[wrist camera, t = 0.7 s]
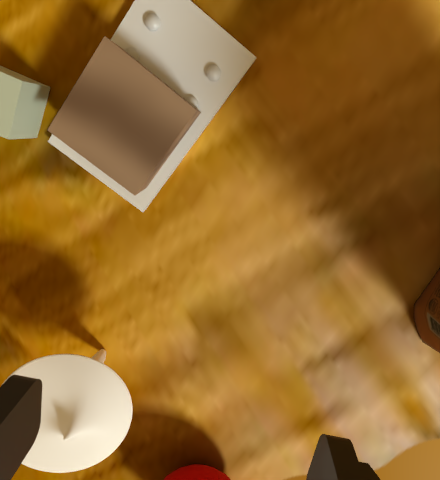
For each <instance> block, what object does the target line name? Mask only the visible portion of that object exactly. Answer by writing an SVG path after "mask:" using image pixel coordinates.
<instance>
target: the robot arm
mask: <svg viewBox="0 0 440 480" xmlns="http://www.w3.org/2000/svg"><path fill="white" fill-rule="evenodd" d="M41 404H42V381H41V380H40V379H36V378H30V377H25V376H20V375H12V376H10V377H9V378H8V379H7V380H6V381H5V383H4V384H3V385H2V386H1V387H0V480H11V478H12V477H13V475H14V474H15V472H16V471H17V469H18V468H19V466H20V464H21V463H22V461H23V460H24V458H25V457H26V455H27V454H28V452H29V451H30V449H31V447H32V446H33V444H34V442H35V440H36V437H37V435H38V432H39V428H40V423H41ZM306 480H380V478H379V477H378V476H377V474H376V473H375V472H374V470H373V469H372V468H371V467H370V465H369V464H368V463H362V462H358V459H357V456H356V453H355V450H354V447H353V444H352V442H351V441H350V440H349V439H346V438H341V437H336V436H330V435H325V434H322V435H321V436H320V438H319V441H318V444H317V447H316V450H315V453H314V456H313V459H312V462H311V465H310V468H309V471H308V474H307V479H306Z"/></svg>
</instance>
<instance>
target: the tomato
mask: <svg viewBox="0 0 440 480" xmlns="http://www.w3.org/2000/svg"><path fill="white" fill-rule="evenodd" d="M164 480H230V478H229V477H228V476H227V475H226V474H224V473H223V472H221V471H219V470H217V469H216V468H214V467H211V466H207V465H199V464H193V465H188V466H184V467H181V468H179V469H177V470H175V471H173V472H172V473H170V474H169V475H167V476H166V477H165V478H164Z"/></svg>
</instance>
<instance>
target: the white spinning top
mask: <svg viewBox="0 0 440 480" xmlns="http://www.w3.org/2000/svg"><path fill="white" fill-rule="evenodd" d="M105 357H106V351H105V350H104V349H101V350H100V351H98V352H97V353H96V354H95V355H94V356H93V357H91V358H89V357H85V356H81V355H74V354H56V355H49V356H44V357H41V358H38V359H35V360H32V361H30V362H28V363H26V364H25V365H23V366H21V367H20V368H18V369H17V370H16V371H14V372H13V373H12V374H11V375H10V376H12V375H20V376H25V377H30V378H36V379H40V380H41V381H42V404H41V423H40V428H39V432H38V435H37V437H36V440H35V442H34V444H33V446H32V447H31V449H30V451H29V452H28V454H27V455H26V457H25V458H24V460H23V461H22V464H23V465H26V466H28V467H30V468H33V469H36V470H40V471H45V472H55V473H63V472H73V471H78V470H82V469H85V468H88V467H91V466H93V465H95V464H97V463H99V462H101V461H102V460H104V459H105V458H106V457H108V456H109V455H110V454H111V453H113V452H114V451H115V450H116V449H117V447H118V446H119V445H120V444H121V443H122V441H123V440H124V438H125V436H126V434H127V432H128V430H129V427H130V424H131V420H132V412H133V409H132V400H131V396H130V393H129V391H128V388H127V387H126V385H125V383H124V382H123V380H122V379H121V378H120V377H119V375H118V374H117V373H116V372H114V371H113V370H112V369H111V368H109V367H108V366H107V365H105V364H104V360H105ZM10 376H9V377H10ZM9 377H8V378H9ZM8 378H7V379H8ZM7 379H6V380H7ZM6 380H5V381H6ZM4 383H5V382H4ZM4 383H3V384H4ZM3 384H2V385H3Z"/></svg>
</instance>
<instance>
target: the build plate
mask: <svg viewBox="0 0 440 480" xmlns="http://www.w3.org/2000/svg"><path fill="white" fill-rule="evenodd" d="M111 41H113V42H114V43H115V44H117V45H118V46H120V47H121V48H122V49H124V50H125V51H126V52H127V53H128V54H130V55H131V56H132V57H133V58H135V59H136V60H137V61H138V62H140V63H141V64H142V65H143V66H145V67H146V68H147V69H148V70H149V71H151V72H152V73H153V74H154V75H156V76H157V77H158V78H159V79H161V80H162V81H163V82H164V83H165V84H167V85H168V86H169V87H170V88H172V89H173V90H174V91H175V92H177V93H178V94H179V95H180V96H182V97H183V98H184V99H185V100H186V101H188V102H189V103H190V104H191V105H192V106H194V107H195V108H196V109H198V110H199V111H200V112H201V113H200V114H199V116H198V117H197V119H196V120H195V121H194V123H193V124H192V126H191V127H190V128H189V130H188V131H187V133H186V134H185V135H184V137H183V138H182V139H181V141H180V142H179V144H178V145H177V146H176V148H175V149H174V151H173V152H172V153H171V155H170V156H169V157H168V159H167V160H166V162H165V163H164V164H163V166H162V167H161V169H160V170H159V171H158V173H157V174H156V176H155V177H154V178H153V180H152V181H151V182H150V184H149V185H148V187H147V188H146V189H144V190H143V191H141V192H140V193H138V194H137V195H135V196H134V195H133V194H132V193H130V192H129V191H128V190H126V189H125V188H124V187H122V186H121V185H120V184H118V183H117V182H116V181H114V180H113V179H112V178H110V177H109V176H108V175H106V174H105V173H104V172H102V171H101V170H100V169H98V168H97V167H96V166H94V165H93V164H92V163H90V162H89V161H88V160H86V159H85V158H84V157H82V156H81V155H80V154H78V153H77V152H76V151H74V150H73V149H72V148H70V147H69V146H68V145H66V144H65V143H64V142H62V141H61V140H60V139H58V138H57V137H56V136H54V135H53V134H52V136H51V137H50V139H49V141H48V142H49V143H50V144H52V145H53V146H54V147H56V148H57V149H58V150H60V151H61V152H62V153H64V154H65V155H67V156H68V157H69V158H71V159H72V160H73V161H75V162H76V163H77V164H79V165H80V166H81V167H83V168H84V169H85V170H87V171H88V172H89V173H91V174H92V175H93V176H95V177H96V178H97V179H99V180H100V181H101V182H103V183H104V184H105V185H107V186H108V187H110V188H111V189H112V190H114V191H115V192H116V193H118V194H119V195H120V196H122V197H123V198H124V199H126V200H127V201H128V202H130V203H131V204H132V205H134V206H135V207H136V208H138V209H139V210H140V211H142V212H144V211H145V210H146V209H147V207H148V206H149V204H150V203H151V202H152V200H153V199H154V198H155V196H156V195H157V194H158V192H159V191H160V189H161V188H162V187H163V185H164V184H165V183H166V181H167V180H168V179H169V177H170V176H171V174H172V173H173V172H174V170H175V169H176V168H177V166H178V165H179V164H180V162H181V161H182V159H183V158H184V157H185V155H186V154H187V153H188V151H189V150H190V149H191V147H192V146H193V144H194V143H195V142H196V140H197V139H198V138H199V136H200V135H201V134H202V132H203V131H204V129H205V128H206V127H207V125H208V124H209V123H210V121H211V120H212V119H213V117H214V116H215V114H216V113H217V112H218V110H219V109H220V108H221V106H222V105H223V104H224V102H225V101H226V99H227V98H228V97H229V95H230V94H231V93H232V91H233V90H234V89H235V87H236V86H237V84H238V83H239V82H240V80H241V79H242V78H243V76H244V75H245V74H246V72H247V71H248V69H249V68H250V67H251V65H252V64H253V63H254V61H255V60H256V58H257V57H255V56H254V55H253V54H252V53H251V52H250V51H248V50H247V49H246V48H245V47H244V46H243V45H241V44H240V43H239V42H238V41H237V40H236V39H234V38H233V37H232V36H231V35H230V34H229V33H228V32H226V31H225V30H224V29H223V28H222V27H221V26H219V25H218V24H217V23H216V22H215V21H214V20H212V19H211V18H210V17H209V16H208V15H207V14H205V13H204V12H203V11H202V10H201V9H200V8H198V7H197V6H196V5H195V4H194V3H193V2H191V1H190V0H135V1H134V2H133V4H132V6H131V7H130V9H129V11H128V12H127V14H126V15H125V17H124V19H123V20H122V22H121V24H120V25H119V27H118V28H117V30H116V32H115V33H114V35H113V37H112V38H111Z"/></svg>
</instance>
